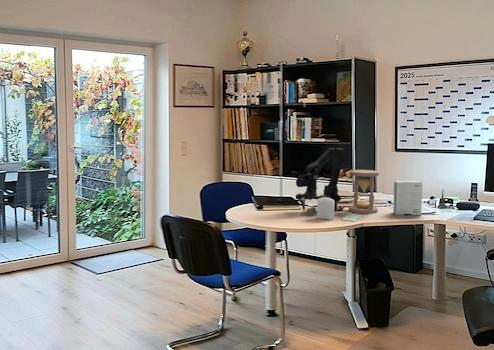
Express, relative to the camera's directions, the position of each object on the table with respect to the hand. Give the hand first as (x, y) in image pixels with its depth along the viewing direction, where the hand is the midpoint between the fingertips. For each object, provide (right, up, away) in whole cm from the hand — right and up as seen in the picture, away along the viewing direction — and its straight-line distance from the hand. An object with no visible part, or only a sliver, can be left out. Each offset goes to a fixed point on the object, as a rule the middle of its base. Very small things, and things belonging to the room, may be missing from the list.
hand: (311, 211), depth 323 cm
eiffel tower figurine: (+88, 0, +21) cm, 90 cm away
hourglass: (+33, -1, +7) cm, 34 cm away
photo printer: (+6, -3, -17) cm, 18 cm away
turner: (-1, -1, -3) cm, 3 cm away
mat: (+22, -3, -15) cm, 26 cm away
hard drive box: (+58, -2, -1) cm, 58 cm away
